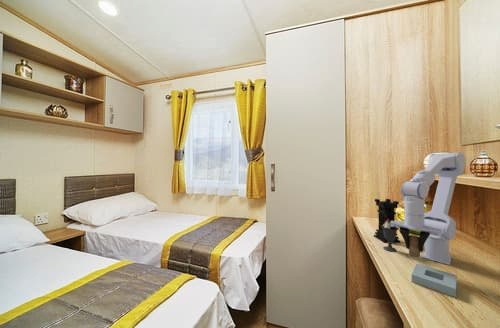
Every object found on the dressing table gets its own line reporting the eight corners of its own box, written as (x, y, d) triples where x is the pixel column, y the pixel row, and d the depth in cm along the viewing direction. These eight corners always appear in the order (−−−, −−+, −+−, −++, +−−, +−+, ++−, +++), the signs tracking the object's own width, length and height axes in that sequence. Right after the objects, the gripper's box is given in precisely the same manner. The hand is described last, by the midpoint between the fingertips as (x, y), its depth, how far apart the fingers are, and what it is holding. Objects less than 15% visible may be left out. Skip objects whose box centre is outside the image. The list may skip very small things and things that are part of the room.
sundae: (381, 244, 92) (381, 213, 92) (399, 248, 88) (399, 215, 88) (380, 249, 87) (379, 216, 87) (398, 254, 83) (398, 219, 83)
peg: (409, 252, 75) (409, 234, 75) (420, 255, 73) (420, 236, 73) (408, 255, 73) (408, 236, 73) (419, 258, 71) (419, 239, 70)
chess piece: (400, 242, 94) (400, 201, 94) (383, 242, 94) (383, 202, 94) (388, 236, 102) (388, 198, 102) (373, 236, 102) (373, 198, 102)
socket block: (416, 270, 71) (416, 263, 71) (456, 282, 63) (456, 275, 63) (411, 281, 64) (411, 274, 64) (455, 297, 56) (455, 289, 56)
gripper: (388, 212, 75) (388, 246, 76) (440, 220, 65) (440, 260, 65) (392, 208, 80) (393, 241, 80) (441, 215, 69) (442, 253, 70)
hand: (414, 249), depth 73 cm, fingers closed on peg, 3 cm apart
